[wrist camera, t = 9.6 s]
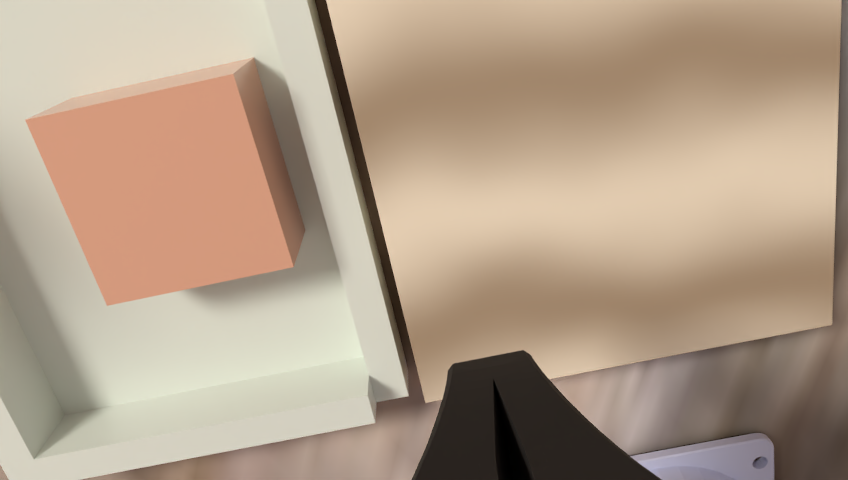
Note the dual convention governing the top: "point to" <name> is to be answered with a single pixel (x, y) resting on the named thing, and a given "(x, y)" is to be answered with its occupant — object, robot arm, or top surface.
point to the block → (173, 181)
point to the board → (598, 172)
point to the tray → (192, 308)
